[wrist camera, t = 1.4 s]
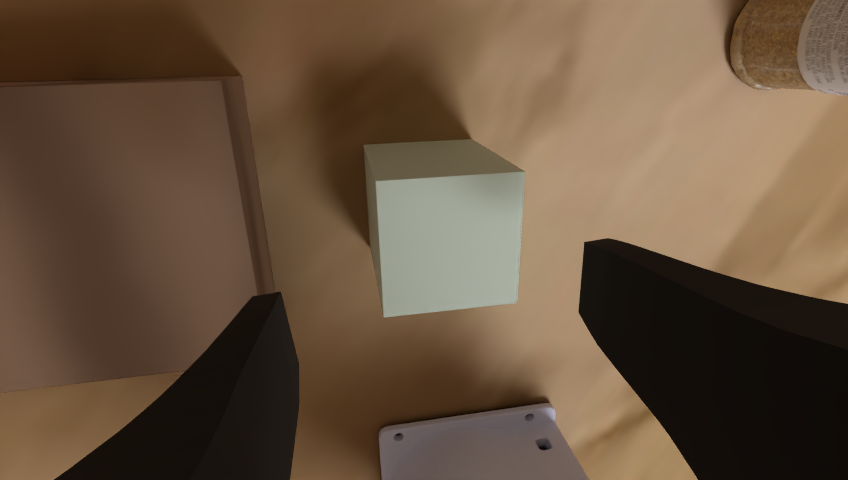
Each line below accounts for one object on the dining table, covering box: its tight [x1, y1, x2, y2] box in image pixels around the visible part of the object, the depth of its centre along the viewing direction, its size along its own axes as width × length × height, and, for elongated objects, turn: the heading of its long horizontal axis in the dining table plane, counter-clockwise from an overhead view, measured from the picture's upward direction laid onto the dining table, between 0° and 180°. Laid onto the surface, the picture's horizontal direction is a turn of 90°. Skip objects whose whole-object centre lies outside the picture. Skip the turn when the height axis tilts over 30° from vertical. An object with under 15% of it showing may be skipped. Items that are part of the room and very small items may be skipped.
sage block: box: [363, 139, 525, 318], centre depth 17 cm, size 4×4×6 cm
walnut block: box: [0, 76, 275, 393], centre depth 17 cm, size 10×10×4 cm
